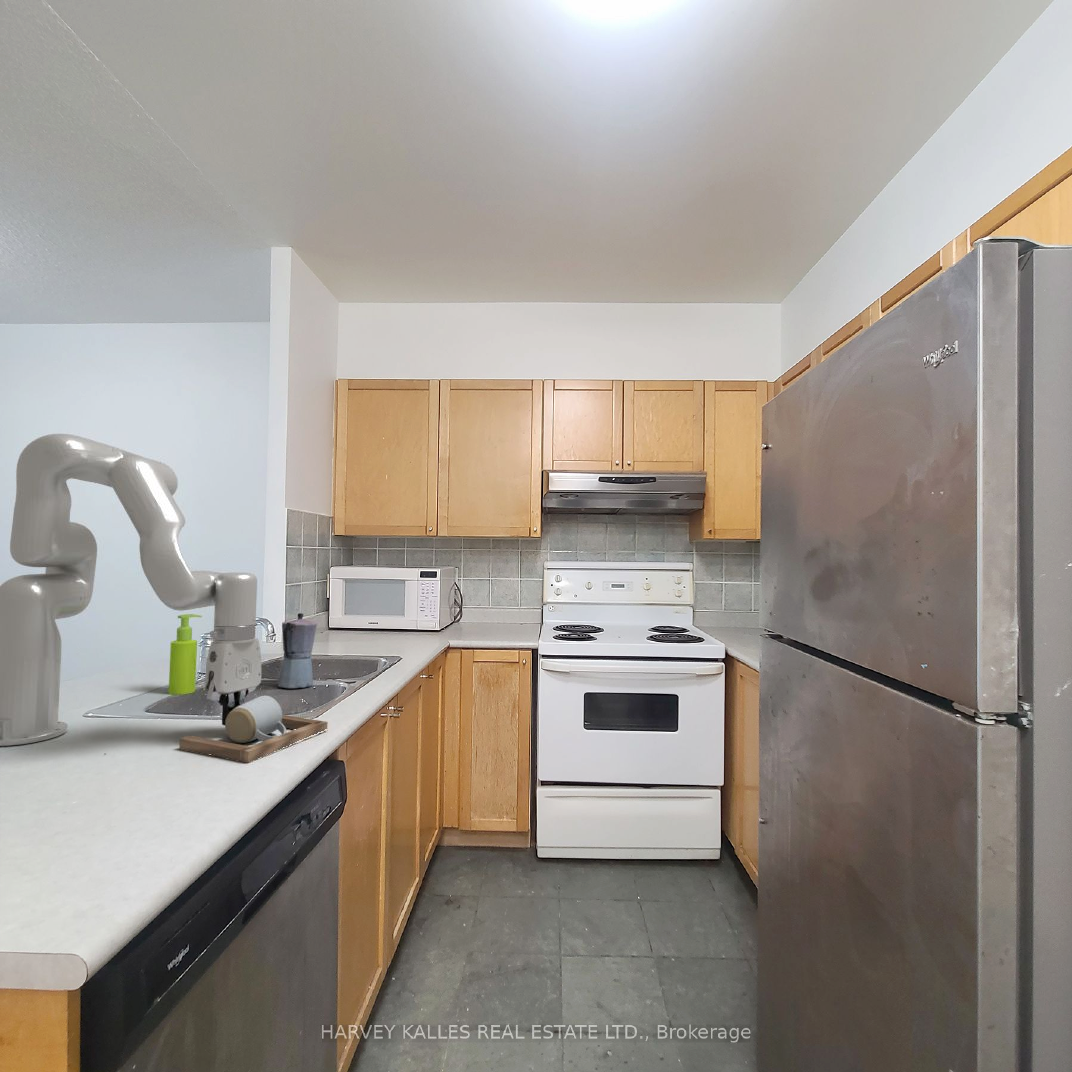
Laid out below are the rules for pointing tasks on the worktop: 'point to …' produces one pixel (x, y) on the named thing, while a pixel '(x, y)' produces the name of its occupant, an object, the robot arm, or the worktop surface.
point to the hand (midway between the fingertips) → (231, 724)
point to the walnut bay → (258, 750)
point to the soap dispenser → (183, 659)
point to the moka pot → (297, 653)
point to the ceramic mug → (255, 720)
